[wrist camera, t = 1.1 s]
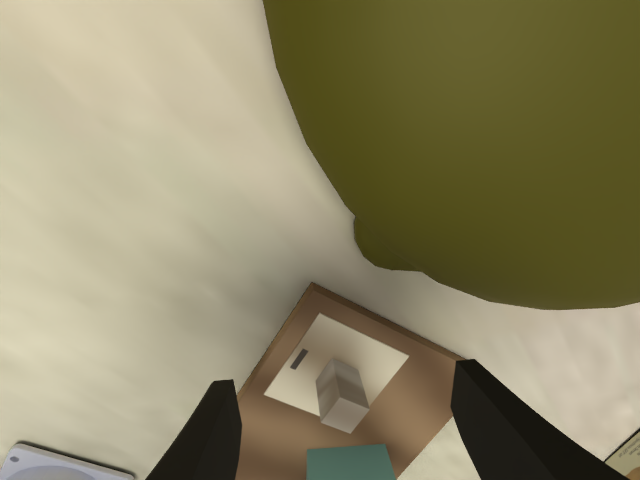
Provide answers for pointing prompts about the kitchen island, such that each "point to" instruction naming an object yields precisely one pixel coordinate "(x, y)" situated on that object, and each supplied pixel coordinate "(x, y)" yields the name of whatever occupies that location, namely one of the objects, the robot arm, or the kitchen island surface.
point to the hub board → (378, 426)
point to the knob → (349, 463)
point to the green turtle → (478, 138)
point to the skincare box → (627, 459)
